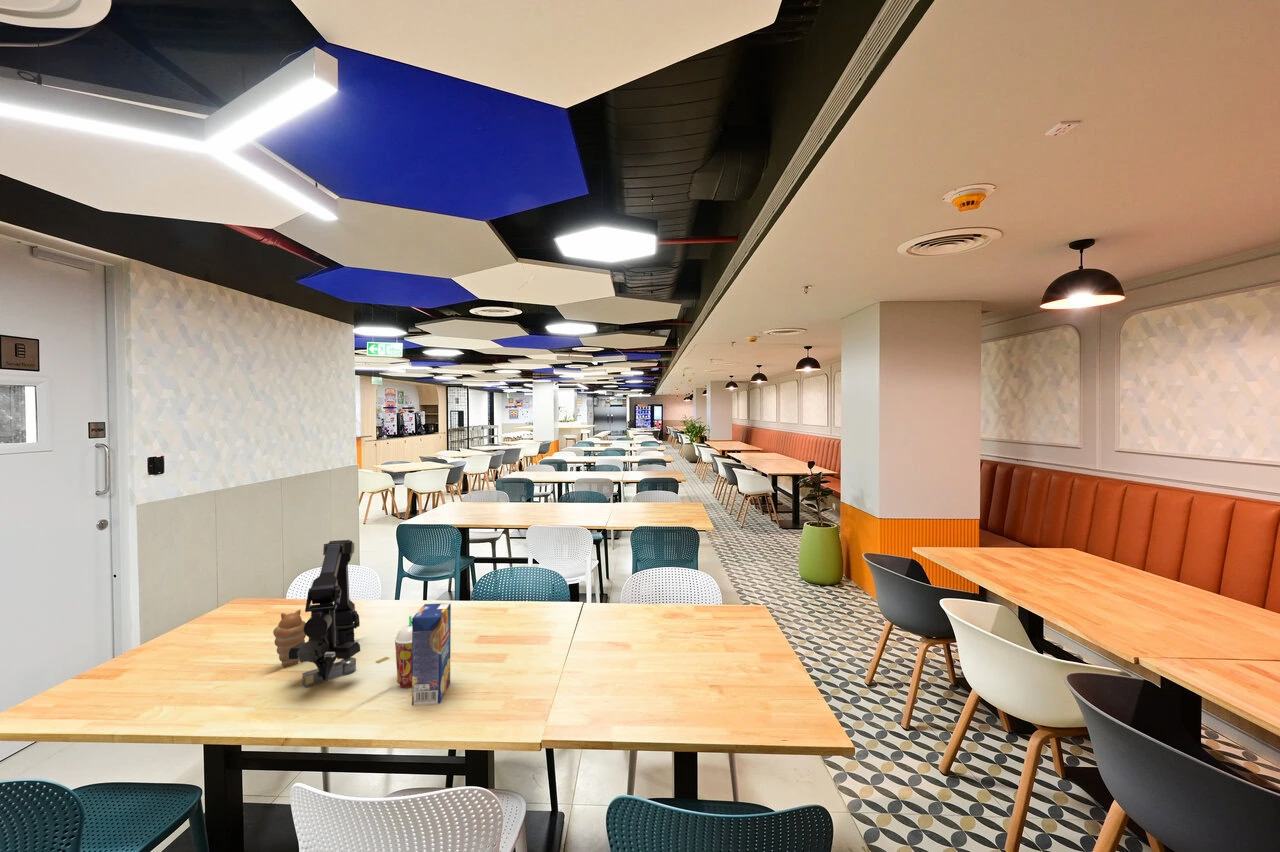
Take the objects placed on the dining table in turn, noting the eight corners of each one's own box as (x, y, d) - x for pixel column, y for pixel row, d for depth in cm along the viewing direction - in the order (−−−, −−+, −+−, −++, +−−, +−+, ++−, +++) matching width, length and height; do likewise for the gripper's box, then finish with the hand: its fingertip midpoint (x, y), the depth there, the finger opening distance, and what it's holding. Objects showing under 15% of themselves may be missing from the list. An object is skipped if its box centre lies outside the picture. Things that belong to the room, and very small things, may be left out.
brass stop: (375, 664, 167) (375, 661, 167) (386, 659, 171) (386, 656, 171) (378, 665, 166) (378, 662, 166) (389, 660, 170) (389, 657, 170)
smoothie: (400, 677, 160) (401, 612, 160) (428, 676, 161) (428, 611, 161) (389, 690, 152) (390, 621, 152) (419, 689, 152) (419, 620, 153)
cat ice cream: (303, 660, 172) (303, 605, 173) (309, 667, 167) (309, 611, 167) (271, 668, 166) (271, 611, 166) (276, 676, 160) (276, 618, 161)
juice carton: (439, 703, 144) (440, 616, 145) (411, 705, 144) (412, 618, 144) (450, 683, 156) (450, 602, 157) (424, 684, 156) (424, 603, 156)
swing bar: (352, 667, 164) (352, 656, 164) (358, 671, 161) (358, 660, 161) (301, 684, 153) (301, 672, 153) (306, 688, 150) (306, 676, 150)
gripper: (272, 636, 146) (273, 693, 146) (336, 636, 145) (337, 693, 144) (301, 622, 157) (302, 674, 157) (360, 622, 156) (361, 674, 155)
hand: (325, 679), depth 153 cm, fingers closed
